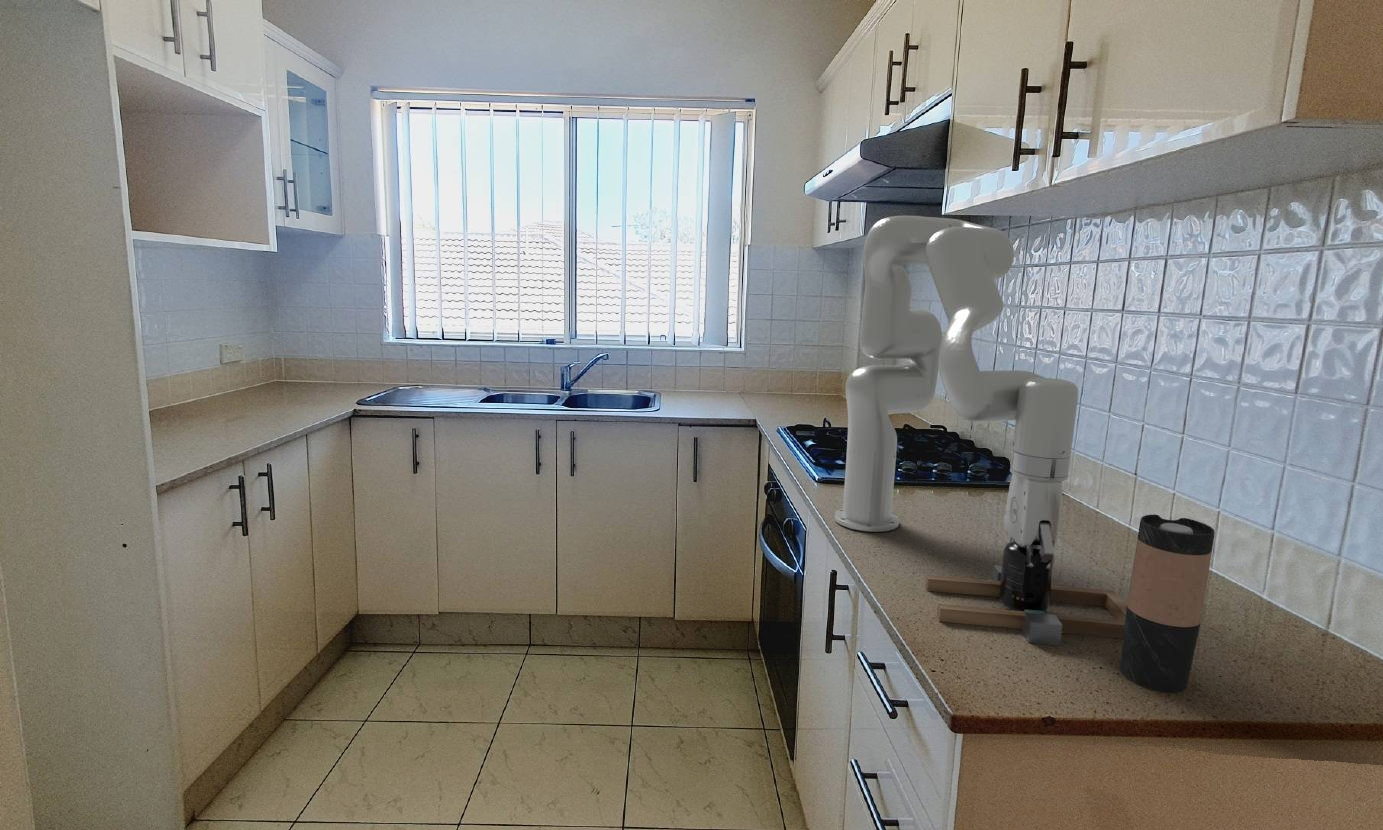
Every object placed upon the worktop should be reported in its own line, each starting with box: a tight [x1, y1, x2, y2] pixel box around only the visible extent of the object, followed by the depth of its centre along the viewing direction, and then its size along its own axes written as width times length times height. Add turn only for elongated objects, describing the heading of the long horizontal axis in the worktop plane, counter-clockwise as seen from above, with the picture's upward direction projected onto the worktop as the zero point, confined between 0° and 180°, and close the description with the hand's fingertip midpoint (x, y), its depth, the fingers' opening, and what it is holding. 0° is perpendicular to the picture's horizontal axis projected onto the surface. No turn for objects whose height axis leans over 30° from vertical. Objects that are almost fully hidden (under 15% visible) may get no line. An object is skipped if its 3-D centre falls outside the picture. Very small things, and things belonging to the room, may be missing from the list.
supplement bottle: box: [998, 538, 1055, 613], centre depth 106 cm, size 7×7×12 cm
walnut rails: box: [925, 574, 1127, 639], centre depth 107 cm, size 12×28×2 cm, turn 81°
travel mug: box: [1119, 513, 1216, 694], centre depth 88 cm, size 8×8×20 cm
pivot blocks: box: [991, 564, 1063, 647], centre depth 107 cm, size 20×4×3 cm, turn 171°
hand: (1025, 580), depth 106 cm, fingers closed on supplement bottle, 6 cm apart
